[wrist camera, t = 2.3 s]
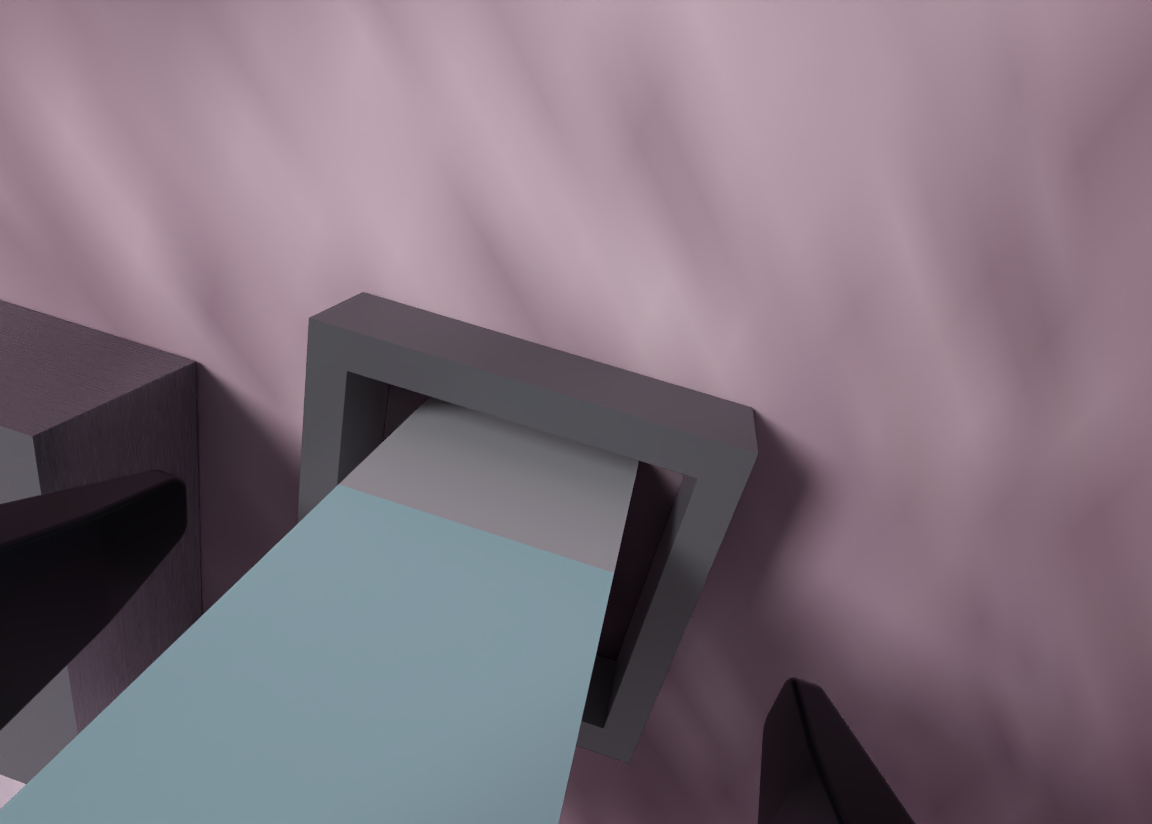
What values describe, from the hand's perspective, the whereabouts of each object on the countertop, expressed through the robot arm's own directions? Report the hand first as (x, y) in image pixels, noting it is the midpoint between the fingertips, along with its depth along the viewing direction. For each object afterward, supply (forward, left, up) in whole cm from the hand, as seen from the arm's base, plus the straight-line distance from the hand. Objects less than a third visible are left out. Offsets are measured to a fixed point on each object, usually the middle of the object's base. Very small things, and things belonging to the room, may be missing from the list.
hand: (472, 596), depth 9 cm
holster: (0, 0, -2) cm, 2 cm away
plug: (0, 0, -2) cm, 2 cm away
